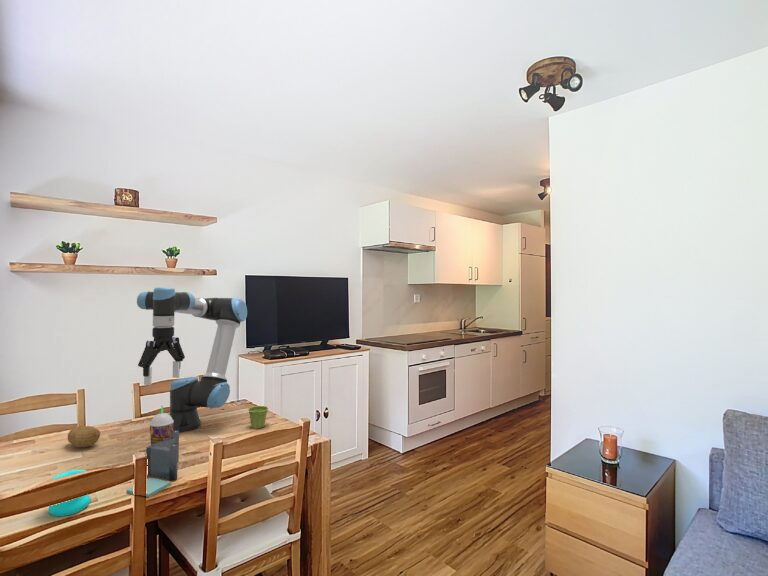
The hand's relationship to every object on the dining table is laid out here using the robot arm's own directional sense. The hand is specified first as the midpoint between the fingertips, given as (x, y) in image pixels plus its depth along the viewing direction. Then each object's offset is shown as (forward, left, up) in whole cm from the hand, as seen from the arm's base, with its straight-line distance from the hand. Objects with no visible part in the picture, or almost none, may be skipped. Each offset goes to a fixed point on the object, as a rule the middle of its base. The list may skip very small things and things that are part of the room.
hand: (162, 381), depth 160 cm
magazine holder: (+14, -7, -30) cm, 33 cm away
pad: (+16, -21, -30) cm, 40 cm away
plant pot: (+14, +43, -30) cm, 55 cm away
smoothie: (0, 0, -30) cm, 30 cm away
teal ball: (+4, -38, -30) cm, 49 cm away
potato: (-39, -2, -30) cm, 49 cm away
